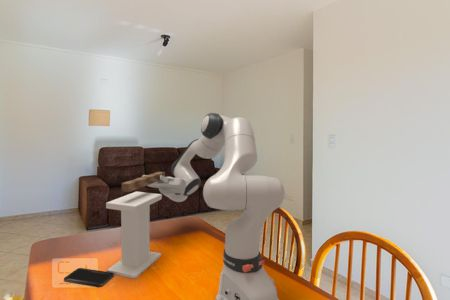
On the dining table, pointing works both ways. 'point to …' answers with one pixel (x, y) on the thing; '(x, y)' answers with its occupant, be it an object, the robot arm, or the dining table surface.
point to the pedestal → (134, 233)
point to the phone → (89, 277)
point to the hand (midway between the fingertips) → (155, 176)
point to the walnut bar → (141, 182)
